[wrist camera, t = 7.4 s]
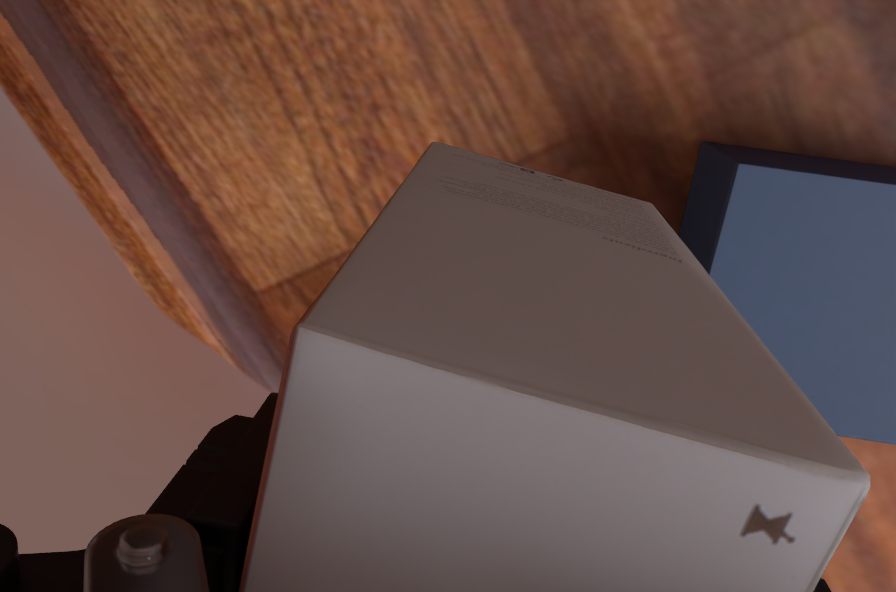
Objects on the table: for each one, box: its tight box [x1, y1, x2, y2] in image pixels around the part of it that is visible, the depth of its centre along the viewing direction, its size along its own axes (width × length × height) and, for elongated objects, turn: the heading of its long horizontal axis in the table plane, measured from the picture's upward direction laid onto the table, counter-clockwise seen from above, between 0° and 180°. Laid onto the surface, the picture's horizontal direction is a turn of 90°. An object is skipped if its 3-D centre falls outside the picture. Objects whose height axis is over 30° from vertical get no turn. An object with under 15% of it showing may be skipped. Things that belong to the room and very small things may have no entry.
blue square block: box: [678, 141, 896, 444], centre depth 32 cm, size 11×11×6 cm
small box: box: [239, 142, 871, 592], centre depth 15 cm, size 8×6×13 cm
